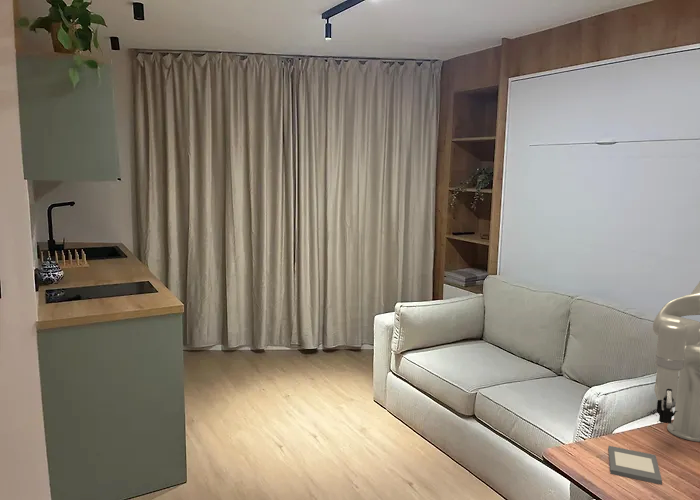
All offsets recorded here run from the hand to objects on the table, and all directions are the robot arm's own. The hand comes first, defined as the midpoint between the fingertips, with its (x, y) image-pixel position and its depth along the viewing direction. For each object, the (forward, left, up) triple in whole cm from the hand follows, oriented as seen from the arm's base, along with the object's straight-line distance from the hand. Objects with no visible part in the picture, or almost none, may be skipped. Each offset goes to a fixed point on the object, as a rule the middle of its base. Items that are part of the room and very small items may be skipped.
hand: (663, 417), depth 176 cm
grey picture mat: (+15, -8, -11) cm, 20 cm away
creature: (0, -1, -1) cm, 1 cm away
